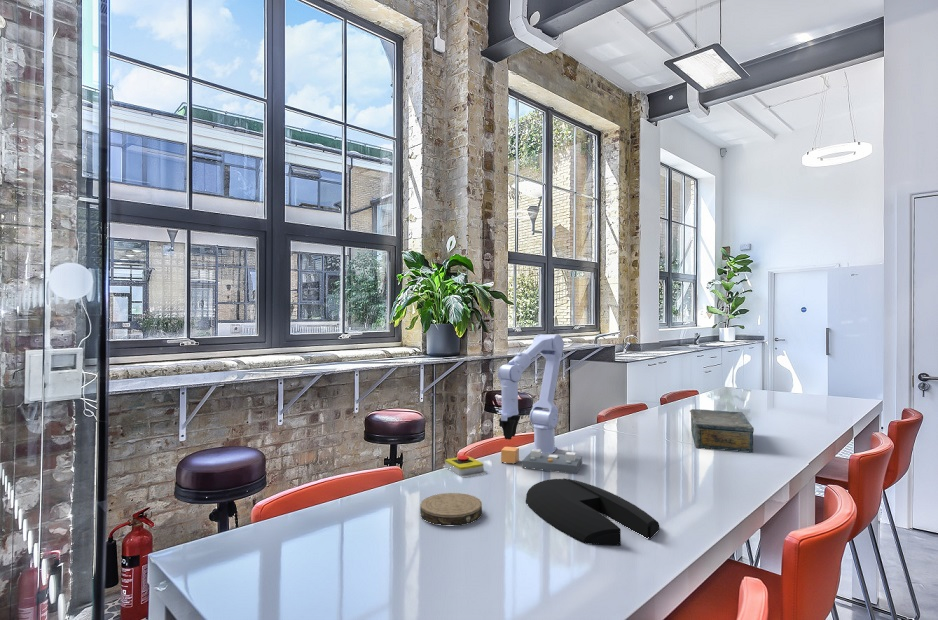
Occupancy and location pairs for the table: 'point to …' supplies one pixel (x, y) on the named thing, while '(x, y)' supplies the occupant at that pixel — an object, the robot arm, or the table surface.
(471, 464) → the emergency button
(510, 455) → the orange rounded cube
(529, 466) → the breaker board
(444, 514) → the wood slice
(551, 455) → the block
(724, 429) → the metal box
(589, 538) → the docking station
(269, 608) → the table surface
